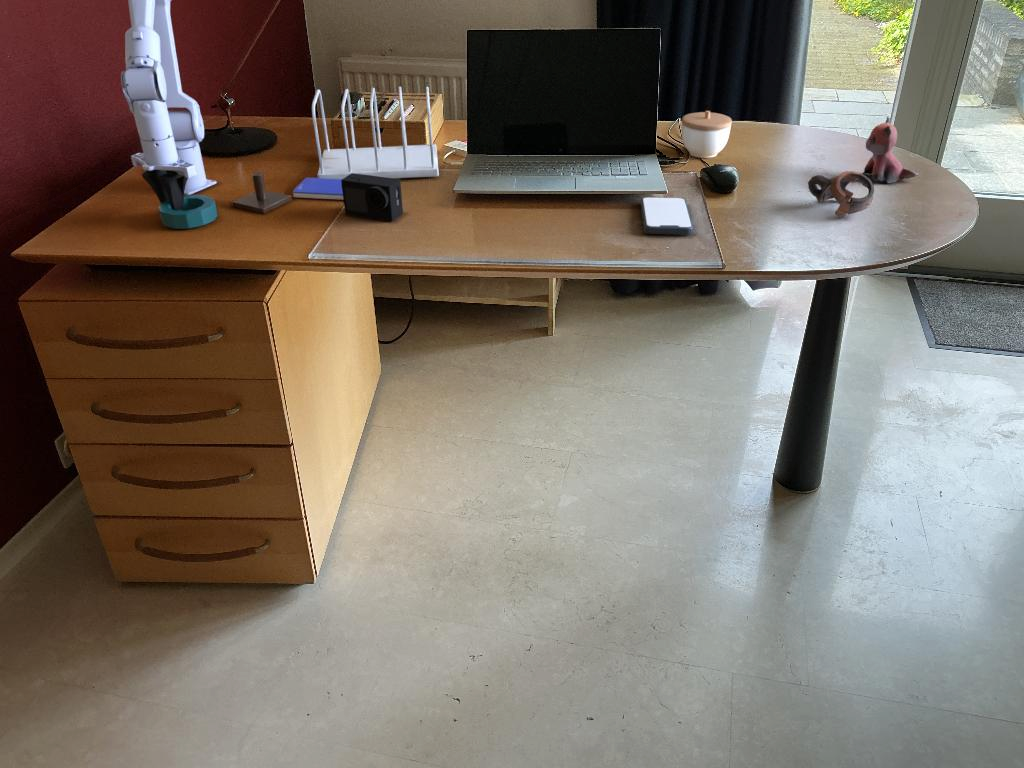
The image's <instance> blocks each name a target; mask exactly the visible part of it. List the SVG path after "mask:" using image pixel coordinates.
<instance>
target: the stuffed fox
mask: <svg viewBox="0 0 1024 768" xmlns="http://www.w3.org/2000/svg"><path fill="white" fill-rule="evenodd" d="M897 139H898V130H897V128H896V126H895V125H893V124H891V118H890V117H889V116H886V120H885V122H884V123H880V124H877V125H876V126H874V128H873V129H872V130H871V131H870V134H869V137H868V138H867V139H866V141H865V149H866V150H867V151H869V152H870V153H872V156H871V157H870V158H869V159H868V161H867V163H866V165H865V167H864V168H863V172H862V174H863V175H872V176H871V179H873V180H874V181H876V182H880V183H886V184H892V183H895V182H898V181H902V180H907V179H911V178H915V177H916V176H919V175H920V174H919V173H917V172H915V171H912V170H910V169H907V168H905V167H903V166H902V164H901V161H899V159H898V158H897V157H896V156H895V155H894V154H893V153H892V149H893V148H894V147H895V146H896V143H897Z"/></svg>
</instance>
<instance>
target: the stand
mask: <svg viewBox="0 0 1024 768" xmlns="http://www.w3.org/2000/svg"><path fill="white" fill-rule="evenodd" d="M251 177H252V182H253V187H254V192H251V193H249V194H247V195H245V196H242V197H240V198H238V199H235V200H233V201H232V207H234V208H237V209H242V210H246V211H250V212H254V213H255V212H256V213H259V214H263V215H264V214H267V213H269V212H270V211H272V210H274V209H276V208H279V207H281V206H283V205H285V204H287V203H289V202H291V201H292V196H291V195H290V194H285V193H280V192H276V191H271V190H267V189H266V185H265V179H264V173H263V172H259V171H258V172H257V171H256V172H254V173H252V174H251Z"/></svg>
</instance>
